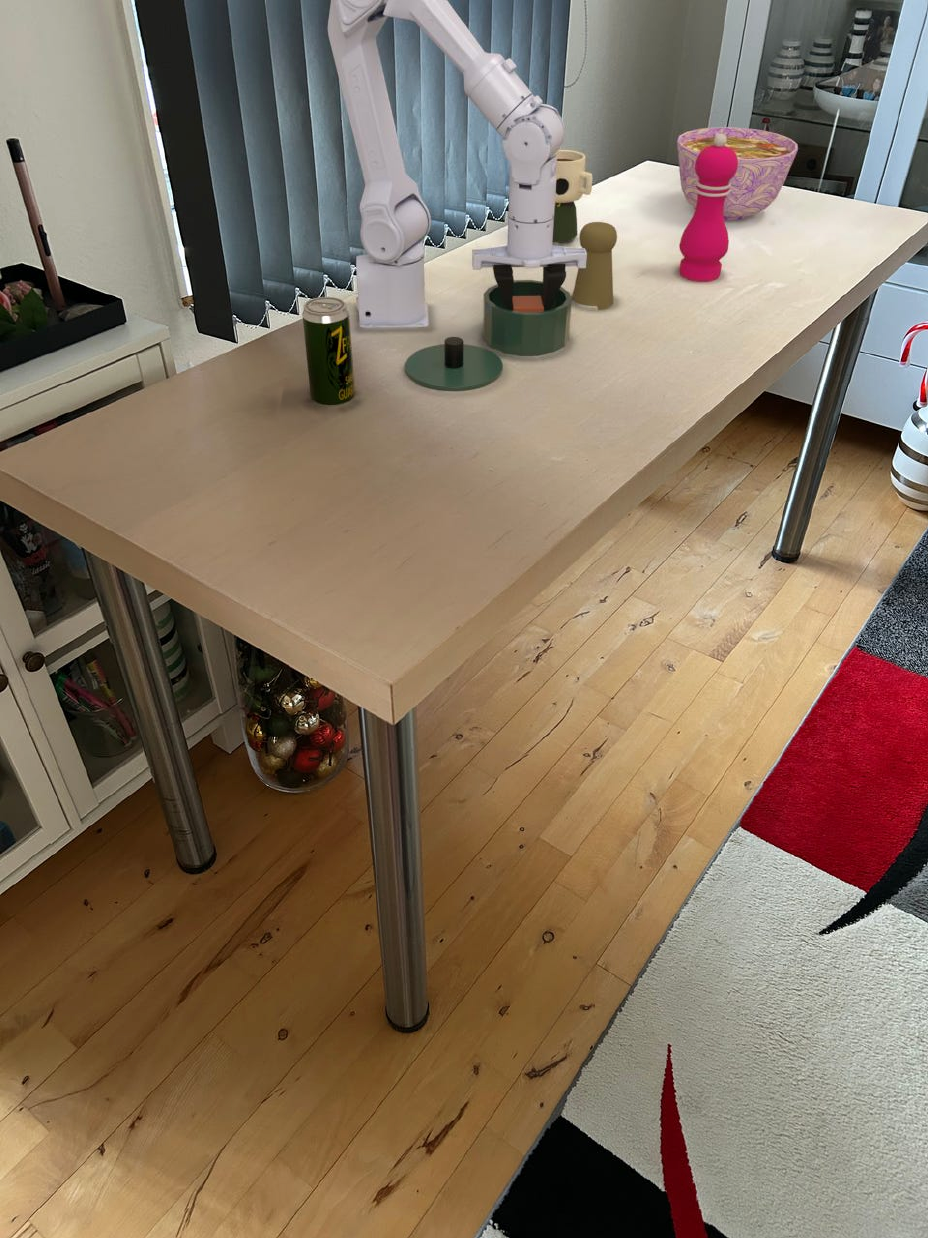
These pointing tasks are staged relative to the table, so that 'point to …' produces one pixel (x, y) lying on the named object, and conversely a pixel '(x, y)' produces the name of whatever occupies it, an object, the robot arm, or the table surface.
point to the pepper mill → (708, 213)
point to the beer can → (329, 351)
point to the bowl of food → (740, 167)
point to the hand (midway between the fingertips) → (526, 320)
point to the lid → (453, 366)
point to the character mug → (569, 192)
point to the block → (527, 304)
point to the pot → (526, 322)
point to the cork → (596, 266)
